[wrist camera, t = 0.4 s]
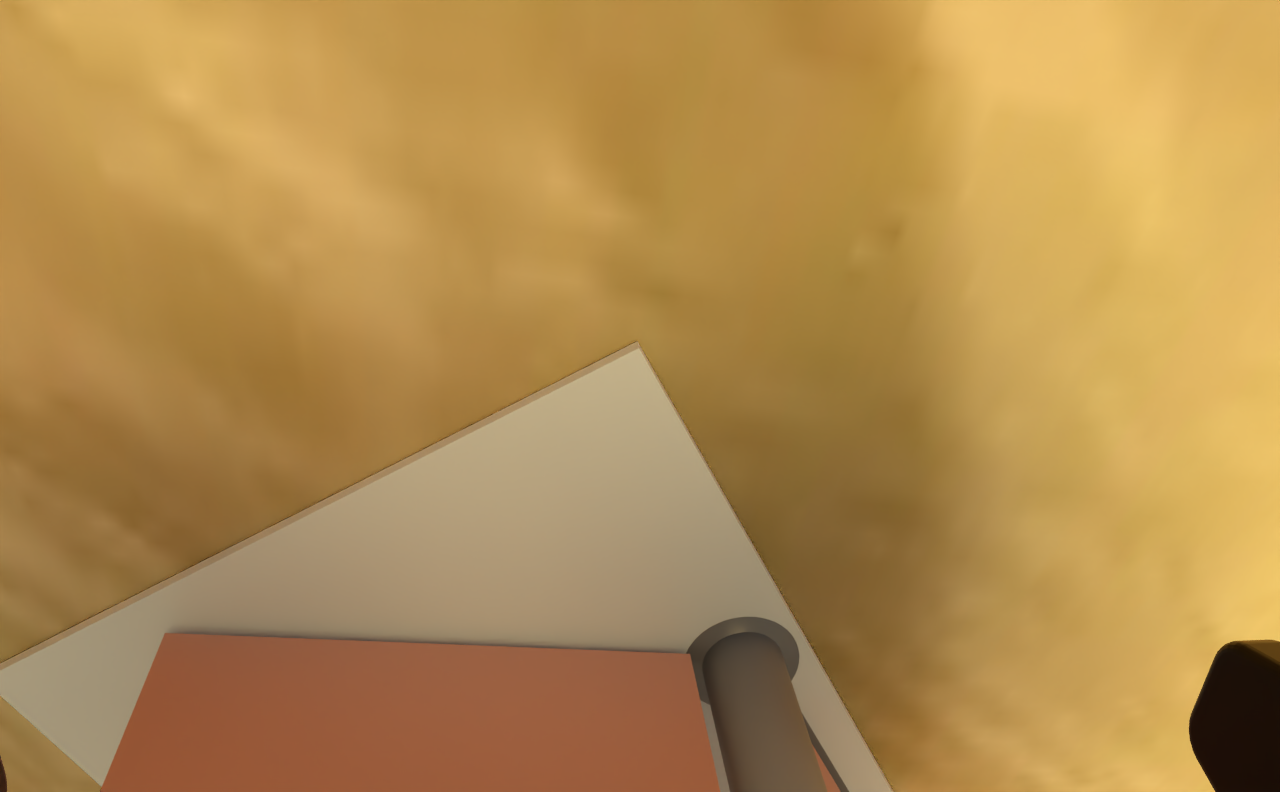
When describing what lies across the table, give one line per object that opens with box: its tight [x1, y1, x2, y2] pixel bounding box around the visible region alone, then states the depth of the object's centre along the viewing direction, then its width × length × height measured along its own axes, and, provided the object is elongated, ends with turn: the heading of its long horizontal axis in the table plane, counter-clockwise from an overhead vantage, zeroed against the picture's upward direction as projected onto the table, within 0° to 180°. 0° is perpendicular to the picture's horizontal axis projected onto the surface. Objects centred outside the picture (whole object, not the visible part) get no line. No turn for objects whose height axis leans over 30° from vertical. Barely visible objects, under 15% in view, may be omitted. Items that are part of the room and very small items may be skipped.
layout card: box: [0, 341, 894, 792], centre depth 25 cm, size 16×15×1 cm
